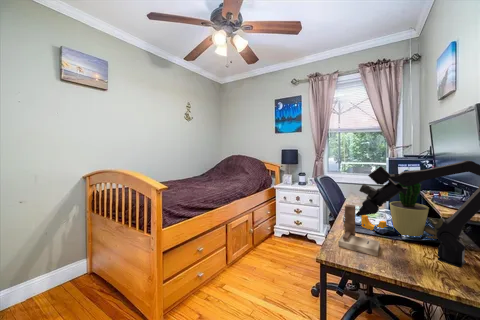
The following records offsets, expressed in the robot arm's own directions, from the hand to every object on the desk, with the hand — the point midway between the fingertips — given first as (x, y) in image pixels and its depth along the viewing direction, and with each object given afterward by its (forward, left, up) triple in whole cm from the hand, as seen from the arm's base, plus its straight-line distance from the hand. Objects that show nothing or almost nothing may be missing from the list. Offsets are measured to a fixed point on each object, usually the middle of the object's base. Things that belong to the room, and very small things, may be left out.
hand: (358, 212), depth 100 cm
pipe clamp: (+2, -19, -14) cm, 24 cm away
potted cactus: (-10, -27, -14) cm, 32 cm away
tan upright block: (+2, +5, -13) cm, 14 cm away
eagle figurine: (-20, -27, -14) cm, 37 cm away
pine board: (-4, +6, -13) cm, 15 cm away
